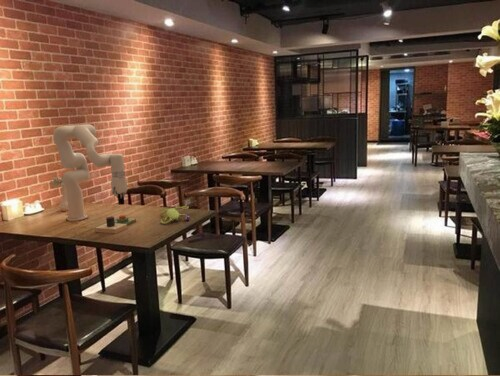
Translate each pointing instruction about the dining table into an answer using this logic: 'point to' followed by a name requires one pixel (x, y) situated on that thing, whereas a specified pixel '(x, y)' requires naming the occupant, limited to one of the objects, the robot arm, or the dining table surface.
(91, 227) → the dining table surface
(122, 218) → the button
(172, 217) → the figurine
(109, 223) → the knob
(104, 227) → the cream flat block
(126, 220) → the housing
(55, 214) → the dining table surface
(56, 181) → the flower vase
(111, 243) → the dining table surface
